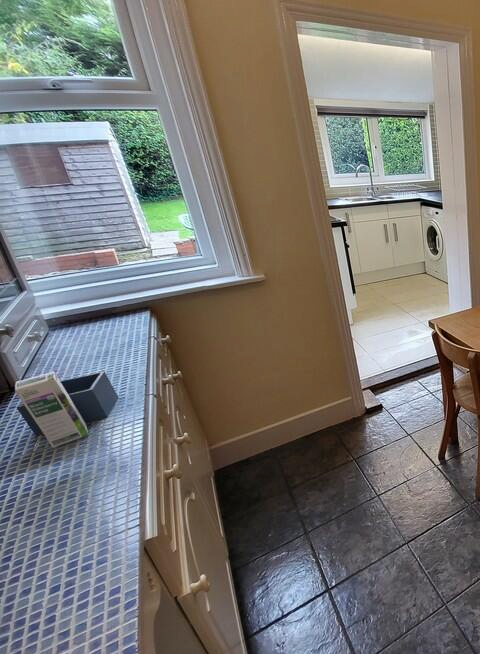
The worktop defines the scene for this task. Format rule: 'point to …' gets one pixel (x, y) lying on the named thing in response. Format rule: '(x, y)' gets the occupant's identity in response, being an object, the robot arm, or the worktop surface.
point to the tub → (83, 398)
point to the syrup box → (51, 408)
